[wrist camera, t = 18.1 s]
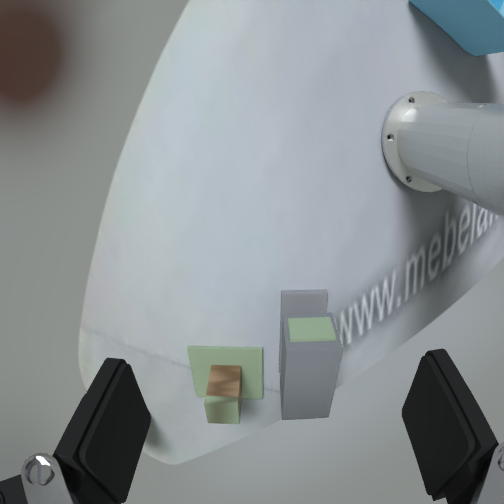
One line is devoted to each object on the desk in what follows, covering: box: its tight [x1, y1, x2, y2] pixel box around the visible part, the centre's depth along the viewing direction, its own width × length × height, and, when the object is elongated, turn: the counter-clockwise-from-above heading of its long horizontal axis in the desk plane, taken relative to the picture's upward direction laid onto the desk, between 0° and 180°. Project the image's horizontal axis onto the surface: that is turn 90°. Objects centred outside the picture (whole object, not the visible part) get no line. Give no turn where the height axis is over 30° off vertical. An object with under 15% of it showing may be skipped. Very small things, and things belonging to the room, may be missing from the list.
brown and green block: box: [204, 365, 242, 424], centre depth 44 cm, size 4×4×8 cm
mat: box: [188, 346, 263, 399], centre depth 48 cm, size 11×11×1 cm
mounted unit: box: [279, 290, 343, 420], centre depth 39 cm, size 6×14×11 cm, turn 1°
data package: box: [410, 0, 504, 56], centre depth 21 cm, size 12×4×12 cm, turn 59°
